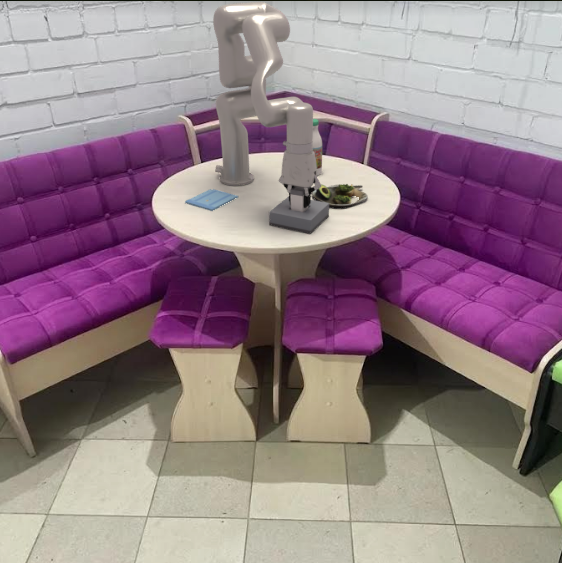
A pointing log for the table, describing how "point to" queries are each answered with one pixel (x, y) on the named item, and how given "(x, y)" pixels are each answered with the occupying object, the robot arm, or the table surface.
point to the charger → (297, 199)
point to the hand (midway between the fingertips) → (299, 204)
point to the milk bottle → (317, 146)
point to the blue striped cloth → (211, 199)
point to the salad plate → (339, 195)
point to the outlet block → (299, 216)
